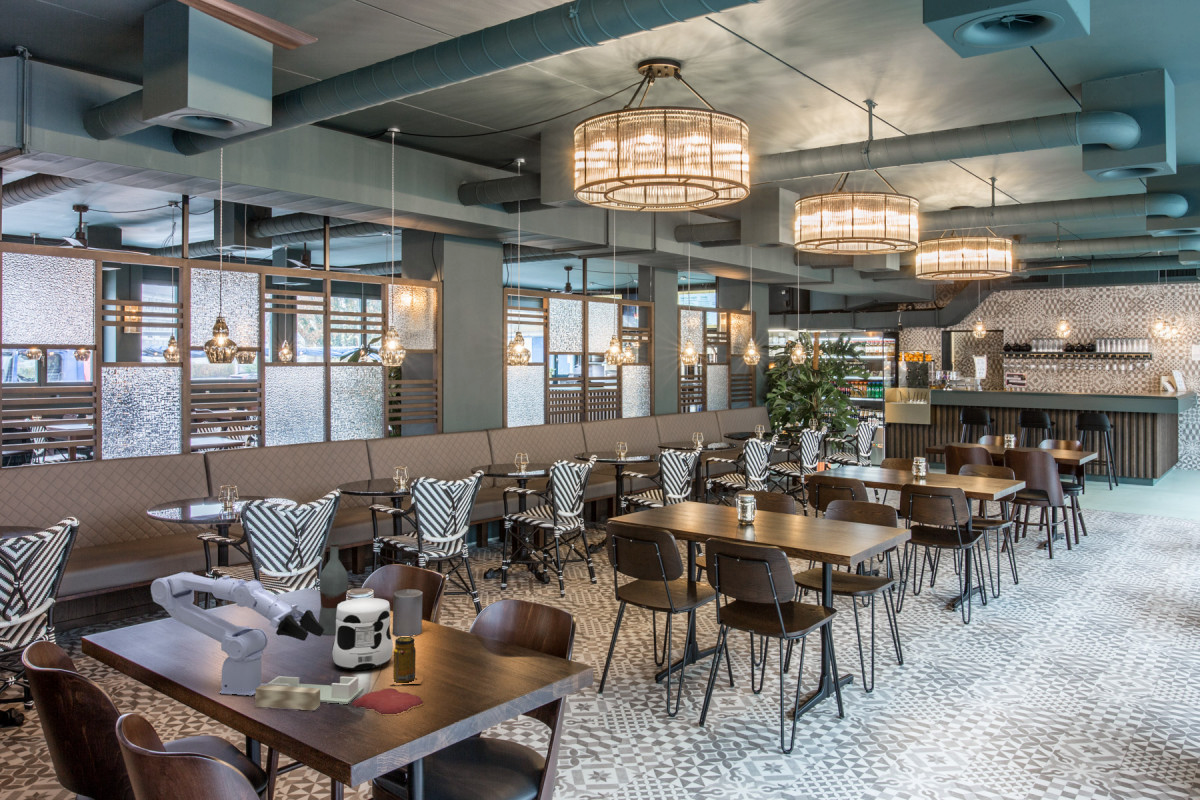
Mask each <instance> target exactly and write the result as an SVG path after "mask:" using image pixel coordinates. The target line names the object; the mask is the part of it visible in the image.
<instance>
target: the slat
mask: <svg viewBox="0 0 1200 800" xmlns="http://www.w3.org/2000/svg"><path fill="white" fill-rule="evenodd" d="M254 696H255V698H254V699H255V702H254V703H255V705H254V707H255V706H258V707H271V708H290V709H301V710H316V709H317V708H318V707H319V706H320V707H321V703H320V689H318V688H303V687H287V686H272V685H261V686H259V687H258V688H256V691H255V694H254ZM320 707H319V708H320ZM319 708H318V709H319ZM318 709H317V710H318ZM317 710H316V711H317Z"/></svg>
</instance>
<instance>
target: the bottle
mask: <svg viewBox="0 0 1200 800" xmlns="http://www.w3.org/2000/svg"><path fill="white" fill-rule="evenodd" d="M329 552H330V553H329V560H328V562H327V563H326V564H325V566H324V568H323V569H322V571H320V572H321V573H320V575H319V582H318V583H319V598H320V610H319V614H318V623H319V624H320V625H321V626H322V627H323V628H324V631H323V633H322V635H324V634H325V636H336V613H337V606H338V604H339V603H341V602H344V601H347V598H346V594H348V586H349V577H348V572H347V569H346V568H345V567H344V565H343V564H342V562H341V560H340V559H339V543H338V542H330V550H329Z"/></svg>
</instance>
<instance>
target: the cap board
mask: <svg viewBox="0 0 1200 800" xmlns="http://www.w3.org/2000/svg"><path fill="white" fill-rule="evenodd" d="M299 687H303V688H318V689H320V702H327V703H326V704H329V703H339V704H338V705H343V704H348V703H349V704H350V703H352V702H353V701H354V700H355V699H356V698H357V697H358V696H359V695H361V694H362V693H363V692H364V691H363V690H364V689H365V688H364V687H359V686H358V691H357V692H356V693H355V694H353V695H352V696H351V697H350V698H349V699H348V698H334V697H331V690H332V685H329V684H328V685H327V684H313V683H312V684H311V683H299ZM362 691H363V692H362ZM361 692H362V693H361ZM360 693H361V694H360ZM358 694H359V695H358ZM357 695H358V696H357ZM356 696H357V697H356ZM355 697H356V698H355ZM354 698H355V699H354ZM353 699H354V700H353ZM352 700H353V701H352ZM351 701H352V702H351ZM349 704H348V705H349Z"/></svg>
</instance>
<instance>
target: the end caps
mask: <svg viewBox="0 0 1200 800" xmlns="http://www.w3.org/2000/svg"><path fill="white" fill-rule="evenodd" d="M266 684H267V685H272V686H287V687H299V684H300V677H299V676H298V677H297V676H281V675H278V676H276V677H275V678H273V679H272V680H271V681H269V682H267V683H266ZM331 686H332V690H331V697H334V698H348V699H349V698H350V697H351V696H352V695H353V694H355V693H356V692H357V691H358V687H359V677H356V676H355V677H354V676H340V677H339V682H338V683H337V682H332V683H331Z"/></svg>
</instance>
